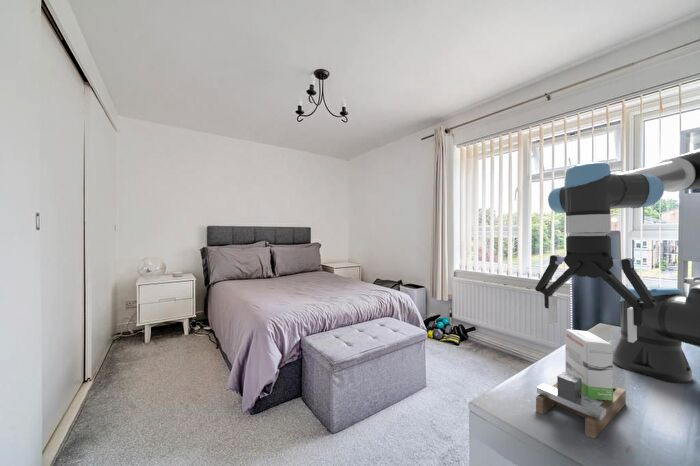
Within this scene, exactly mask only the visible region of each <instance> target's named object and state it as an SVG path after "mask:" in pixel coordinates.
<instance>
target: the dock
mask: <svg viewBox="0 0 700 466" xmlns="http://www.w3.org/2000/svg"><path fill="white" fill-rule="evenodd" d="M551 386H552V387H554V388H556V389H557V382H556V383H555V384H553V385H551ZM626 392H627V391H626V389H624V388H621V387H618V386H615V385H613V401H610V400H603V401H602V402H601V404H599V406H601V407H603V408H606V415H605V416H604V417H603V418H602V419H601V421H600V420H598V419H595V418H593V417H591V416H589V415H586V414H584V413H582V412H579V411H577V410H575V409H573V408H570V407H568V406H566V405H563V404H561V403H559V402H557V401H554V400H552V399H550V398H548V397H545V396H543V395H541V394H538V395H537V396H535V412H537V413H539V414H541V415H544V414H545V413H547V411H549V410H550V409H552V408H553V407H554V406H558V407H560V408H561V409H564V410H567V411H569V412H571V413H574V414H575V415H578V416H579V417H583V418H585V420H584V421H585V422H584V423H585V424H584V428H585V429H584V432H585V433H584V434H585V436H587V437H590V438H592V439H595V438H596V437H597V436H598V435H599V434H600V433H601V432H602V431H603V429H605V427H607V425H608V424H609V423H610V422H611V421H612V419H613V418H614V417H615V416H616V415H617V414H618V413H619V412H620V411H621V410H622V409H623V407H624V406H625V405H626V404H627V403H626V402H627V401H626V400H627V399H626V398H627V397H626V396H627V393H626Z"/></svg>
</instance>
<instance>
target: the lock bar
mask: <svg viewBox="0 0 700 466" xmlns="http://www.w3.org/2000/svg"><path fill="white" fill-rule="evenodd" d="M556 378H557V380H556V383H557V389H556V388H554V387H552V386H553V385H549V384H546V383H541V384H540V385H538V386H536V393H537V394H538V395H540V394H541V395H543V396H545V397H548V398H550V399H552V400H554V401H557V402H559V403H561V404H563V405H566V406H568V407H570V408H573V409H575V410H577V411H579V412H582V413H584V414H586V415H589V416H591V417H593V418H595V419H598V420H600V421H601V419H602V418H603V417H604V416H605V415H606V408H603V407H601V406H600V405H599V404H596V403H593V402H591V401H589V400H586V399H583V398H582V393H581V378H578V377H576V376H573V375H570V374H567V373H565V372H562V373H560V374H558V375H557V377H556Z"/></svg>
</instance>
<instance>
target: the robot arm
mask: <svg viewBox="0 0 700 466" xmlns="http://www.w3.org/2000/svg"><path fill="white" fill-rule="evenodd" d="M564 178H565V179H564V185H562V186H559V187H555V188H554V189H552V190H551V191H550V193H549V194H548V197H547V202H548V206H549V208H550V209H551V210H552V211H554V212H555V213H559V214H563V213H564V214H565V233H566V234H568V235H567V236H566V237H565V250H566V251H565V252H566V253H565V256H562V255H559V254H552V255H550V256H549V263H548V266H547V267H546V269H545V271H544V272H543V274H542V275H541V278H540V279H539V281H538V283H537V284H536V286H535V289H534V290H535V291H536V292H540V293H542V294H543V296H544V299H543V301H544V307H545V309H548V324H551V325H555V324H557V323H558V319H559V318H558V316H559V315H558V295H557V294H555V292H557V291H558V290H559V289H560V288H561V287H562V286H563V285H565V284H566V283H567V282H568V281H569V280H570V279H571V278H573V277H574V276H577V277H580V278H583V277H588V278H591V279H598V278H601V279H602V280H603V281H604V282H606V283H607V284H608V285H609V286H610V287H611V288H612V289H613V290H614V291H615V292H616V293H617V294H618V295H619V296H620V299H619V303H620V336H619V339H618V341H617V343H616V346H615V348H614V350H612V363H613V364H615V365H616V366H618V367H620V368H621V369H624V370H626V371H628V372H630V373H635V374H638V375H642V376H643V377H647V378H651V379H654V380H659V381H662V382H671V383H681V384H682V383H683V384H685V383H690V382H692V380H693V371H692V369H691V366H690V364H689V361H688V359H687V356H686V355H685V353H684V350H683V346H682V343H684V344H688V345H691V346H695V347H697V348H700V284H697V285H694V286H692V287H690V289H689V291H688V295H687V296H686V295H685V296H684V293H683V292H682V290H681V289H680V288H676V287H659V286H658V287H656V286H646V284H645V283H644V282H643V280H642V278H641V277H640V275H639V274H638V272H637V270H636V269H635V267H634V266H635V265H634V260H633V259H632V258H630V257H629V258H621V259H619V258H618V259H617V258H615V259H614V258H613V256H612V237H611V235H608V234H610V233H611V232H612V227H611V226H612V225H611V224H612V222H611V221H612V220H611V219H612V218H611V210H615V209H629V208H630V209H640V208H646V207H647V208H648V207H650V206H653V205H655V204H657V203H658V202H659V201H660V199H661V198H662V197H663V195H664V193H665V192H668V193H675V192H679V191H680V192H681V191H686V190H687V191H688V190H695V189H698V190H699V189H700V148H697V149H695V150H692V151H689V152H686V153H683V154H680V155H677V156H674V157H673V156H672V157H669V158H666V159H663V160H661V161H659V162H658V163H656V164H655V165H651V166H647V167H643V168H638V169H633V170H629V171H625V172H620V173H612V171H611V167H610V164H608V163H606V162H603V161H599V162H598V161H597V162H586V163H580V164H577V165H572V166H571V167H569V168H567V169H566V171H565V177H564ZM563 262H564V264H565V265H567V267H568V268H567V269H566V270H565V271H564V272H563V273H562V274H561V275H560V276H559V277H558V278H557V279H556V280H554V281H553V282H552V284H550V285H549V283H550V281H551V280H552V278H553V276H554V274H555V273H556V272H557V270H558V268H559V266H560V265H562V264H563ZM614 266H617V268H618V270H620V271H621V270H622V272H623V274H624V275H625V277H626V278H627V280H628V281H629V283H630V284H631V286H629V287H627V286H626V285H625V284H623V282H622V281H621V280H620V279H618V278H617V277H616V275H615V274H614V273H613V272H612V271H611V270H610V269H612V268H613V267H614ZM548 285H549V286H548Z"/></svg>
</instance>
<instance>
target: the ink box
mask: <svg viewBox="0 0 700 466" xmlns="http://www.w3.org/2000/svg"><path fill="white" fill-rule="evenodd" d="M613 364H614V363H613V344H612V343H610V342H608V341H606V340H604V339H603V338H601V337H600V336H597V335H596V334H594V333H592V332H590V331H588V330H579V329H565V372H564V373H567V374H570V375H573V376H576V377H578V378H581V395H583V396H584V397H586V398H587V399H589V400H590V399H591V400H602V401H605V400H610V401H613V386H614V383H613V382H614V381H613V380H614V378H613V377H614V375H613V373H614V371H613V367H614V366H613Z"/></svg>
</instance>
